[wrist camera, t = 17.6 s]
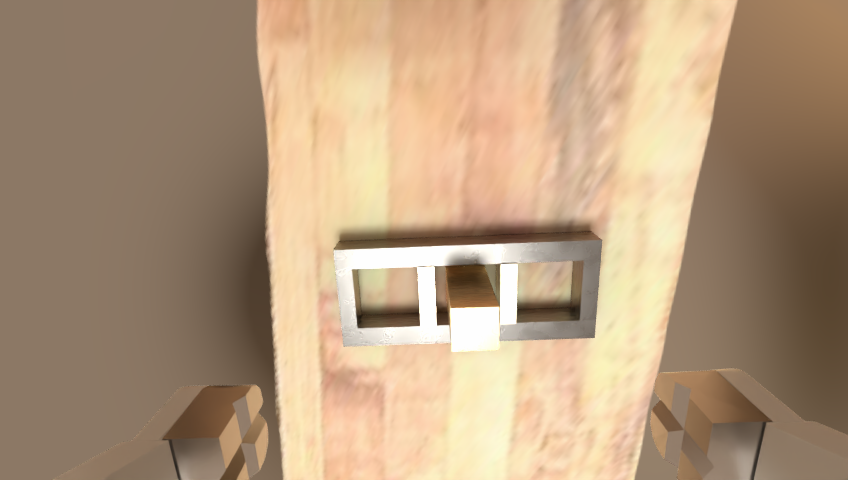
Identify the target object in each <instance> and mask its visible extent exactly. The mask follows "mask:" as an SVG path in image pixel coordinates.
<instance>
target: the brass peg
mask: <svg viewBox="0 0 848 480" xmlns="http://www.w3.org/2000/svg"><path fill="white" fill-rule="evenodd" d="M446 301H447V311H448V320H449V330H450V340H451V349H452V351H481V350H499V304H498V302H497V299H496V296H495V294H494V291H493V288H492V285H491V283H490V280H489V277H488V275H487V272H486V269H485V266H484V265H469V266H446Z"/></svg>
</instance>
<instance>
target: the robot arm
mask: <svg viewBox="0 0 848 480" xmlns="http://www.w3.org/2000/svg"><path fill="white" fill-rule="evenodd" d="M654 391H655V393H656V394H657V396H658V397H659V398H660V401H659V402H658V403H657V404H656V405H655V406H654V407H653V409H652V411H651V422H650V425H651V430H652V436H653V439H654V442H655V444H656V446H657V449H658V451H659V452H660V454H661V455H662V457H663V458H664V459H665V460H666V461H668V462H669V463H671V464H673V465H674V466H676V467H677V468H678V474H677V479H678V480H848V435H846V434H844V433H841V432H839V431H836V430H834V429H832V428H829V427H827V426H824V425H822V424H819V423H817V422H814V421H804V420H803V419H802V418H800V417H799V416H798V415H797V414H795V413H794V412H793V411H792V410H791V409H789V408H788V407H787V406H786V405H784V404H783V403H782V402H781V401H780V400H778V399H777V398H776V397H775V396H773V395H772V394H771V393H770V392H769V391H767V390H766V389H765V388H763V387H762V386H761V385H760V384H759V383H758V382H756V381H755V380H754V379H753V378H752V377H750V376H749V375H748V374H747V373H745V372H744V371H741V370H739V369H736V368H734V369H717V370H709V371H691V372H690V371H688V372H667V373H659V374H658V376H657V378H656V380H655V387H654ZM262 404H263V399H262V395H261V390H260V388H259V387H258V386H257V385H209V386H206V385H202V386H184V387H181V388H179V389H178V390H177V391H176V392H175V393H174V394H173V395H172V397H171V398H170V399H169V400H168V401H167V402H166V403H165V404H164V405H163V407H162V408H161V409H160V410H159V411H158V412H157V413H156V414H155V415H154V417H153V418H152V419H151V420H150V421H149V422H148V423H147V425H146V426H145V427H144V428H143V429H142V430H141V431H140V432H139V433H138V435H137V436H136V437H135V438H134V439H133V440H132V441H124V442H121V443H119V444H118V445H116V446H114V447H112V448H110V449H108V450H106V451H105V452H103V453H101V454H99V455H97V456H95V457H94V458H91V459H90V460H88V461H86V462H84V463H82V464H80V465H78V466H77V467H75V468H73V469H71V470H69V471H67V472H65V473H64V474H62V475H60V476H58V477H56V478H54V479H52V480H249V479H250V478H251V477H252V476H253V475H255V474H256V473H257V472H258V471H260V469H261V466H262V464H263V462H264V459H265V455H266V450H267V446H268V428H267V422H266V420H265V419H264V418H263V417H262V416H261V415H260V414H259V413H258V411H259V410H260V408H261V406H262Z"/></svg>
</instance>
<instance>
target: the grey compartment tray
mask: <svg viewBox="0 0 848 480" xmlns="http://www.w3.org/2000/svg"><path fill="white" fill-rule="evenodd" d="M601 249H602V239H600V238H599V237H598V236H596V235H595V234H594V233H592V232H591V231H588V232H562V233H536V234H511V235H485V236H459V237H433V238H408V239H382V240H356V241H339V242H338V244H337V245H336V247H335V248H334V250H333V252H334V261H335V271H336V280H337V289H338V299H339V308H340V317H341V327H342V336H343V345H344V346H373V345H402V344H431V343H451V340H450V330H449V320H448V312H436V300H435V273H434V266H451V265H477V264H496V299H497V302H498V304H499V341H517V340H546V339H575V338H595V325H596V312H597V300H598V287H599V274H600V262H601ZM557 261H573V273H572V290H571V306H570V308H544V309H517V268H518V264H517V263H530V262H557ZM398 267H418V284H419V305H420V313H404V314H377V315H362V313H361V302H360V291H359V280H358V269H371V268H398Z"/></svg>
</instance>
